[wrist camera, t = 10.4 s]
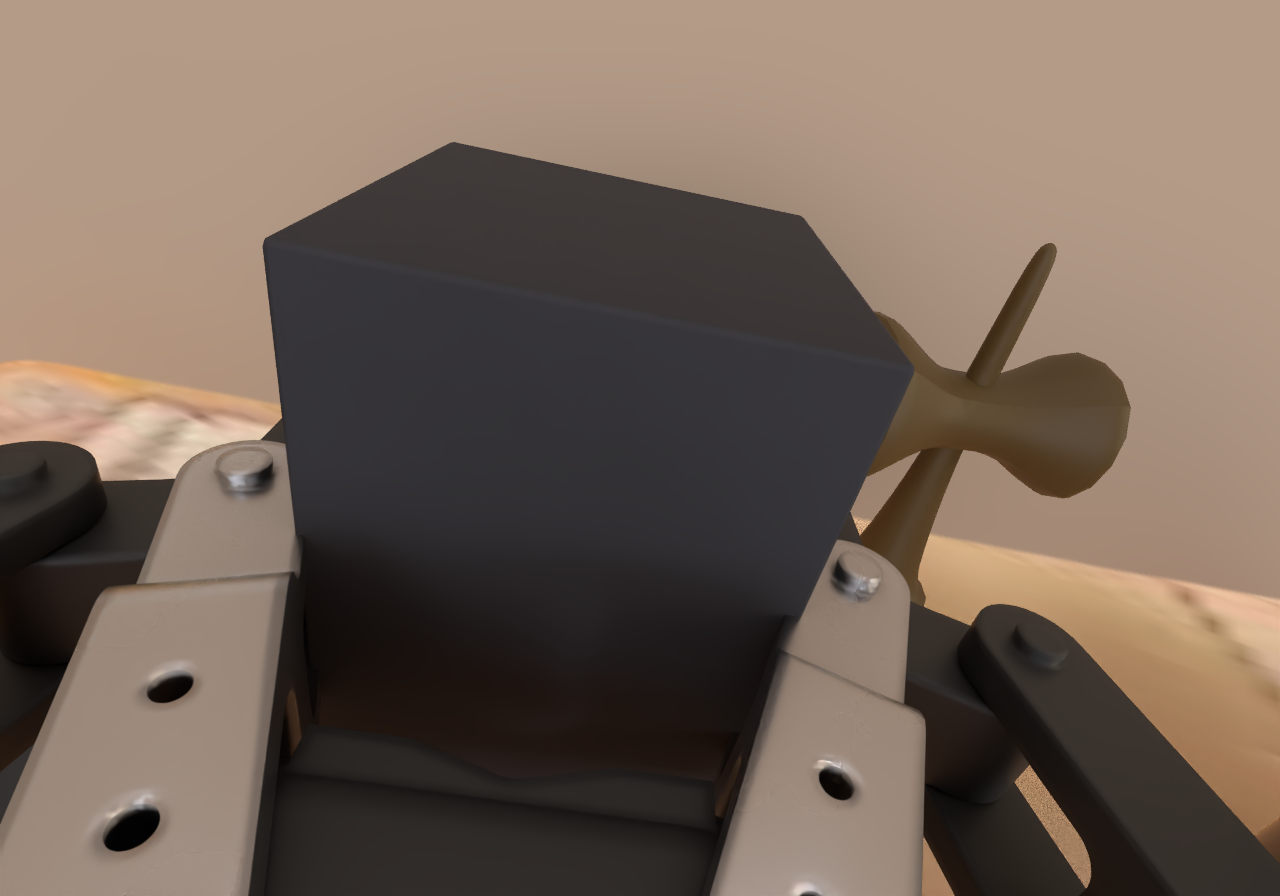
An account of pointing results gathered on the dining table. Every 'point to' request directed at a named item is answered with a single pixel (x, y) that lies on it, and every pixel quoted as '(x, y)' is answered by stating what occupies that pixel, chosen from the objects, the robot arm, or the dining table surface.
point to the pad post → (564, 455)
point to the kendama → (994, 424)
